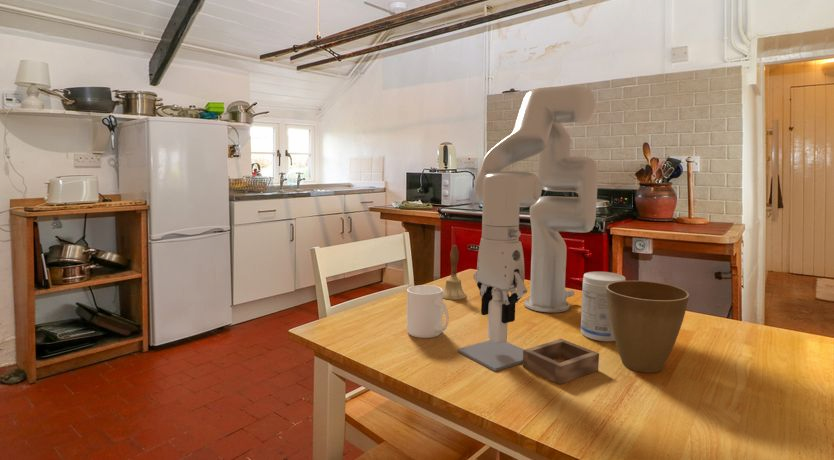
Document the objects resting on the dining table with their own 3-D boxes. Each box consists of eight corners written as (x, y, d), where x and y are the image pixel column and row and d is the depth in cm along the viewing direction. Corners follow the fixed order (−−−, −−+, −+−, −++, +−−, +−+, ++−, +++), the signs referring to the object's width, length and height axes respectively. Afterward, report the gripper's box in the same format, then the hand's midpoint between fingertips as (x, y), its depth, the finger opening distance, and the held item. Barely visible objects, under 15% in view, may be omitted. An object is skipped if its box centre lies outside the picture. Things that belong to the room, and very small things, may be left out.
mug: (434, 345, 107) (434, 299, 105) (399, 331, 116) (399, 289, 114) (460, 336, 113) (460, 292, 111) (425, 324, 121) (425, 283, 120)
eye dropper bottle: (508, 335, 103) (510, 281, 102) (506, 344, 98) (508, 287, 96) (488, 333, 104) (489, 279, 103) (485, 342, 99) (486, 286, 97)
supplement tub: (603, 326, 120) (606, 269, 118) (632, 340, 111) (636, 278, 109) (571, 331, 116) (574, 272, 114) (598, 345, 108) (602, 281, 105)
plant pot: (614, 345, 107) (618, 276, 105) (689, 363, 98) (695, 287, 96) (591, 367, 96) (595, 290, 94) (673, 389, 86) (680, 304, 84)
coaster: (498, 340, 110) (498, 337, 110) (537, 358, 100) (537, 355, 100) (457, 351, 104) (457, 348, 103) (495, 371, 94) (495, 368, 94)
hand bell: (464, 292, 151) (465, 243, 149) (468, 300, 143) (469, 247, 141) (438, 292, 151) (439, 243, 148) (441, 300, 142) (441, 247, 140)
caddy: (560, 354, 102) (561, 338, 102) (598, 370, 94) (599, 353, 94) (522, 366, 96) (523, 350, 96) (559, 384, 88) (560, 366, 88)
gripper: (544, 237, 93) (540, 326, 96) (486, 227, 107) (484, 305, 110) (517, 240, 89) (514, 333, 92) (459, 229, 103) (458, 310, 106)
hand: (497, 316), depth 101 cm, fingers closed on eye dropper bottle, 5 cm apart
